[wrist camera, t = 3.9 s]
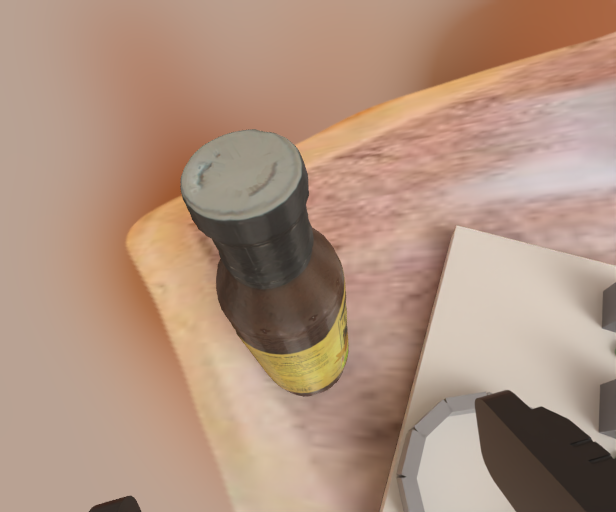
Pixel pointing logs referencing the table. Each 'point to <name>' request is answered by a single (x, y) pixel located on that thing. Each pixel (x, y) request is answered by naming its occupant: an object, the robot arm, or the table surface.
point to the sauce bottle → (271, 257)
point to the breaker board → (503, 364)
